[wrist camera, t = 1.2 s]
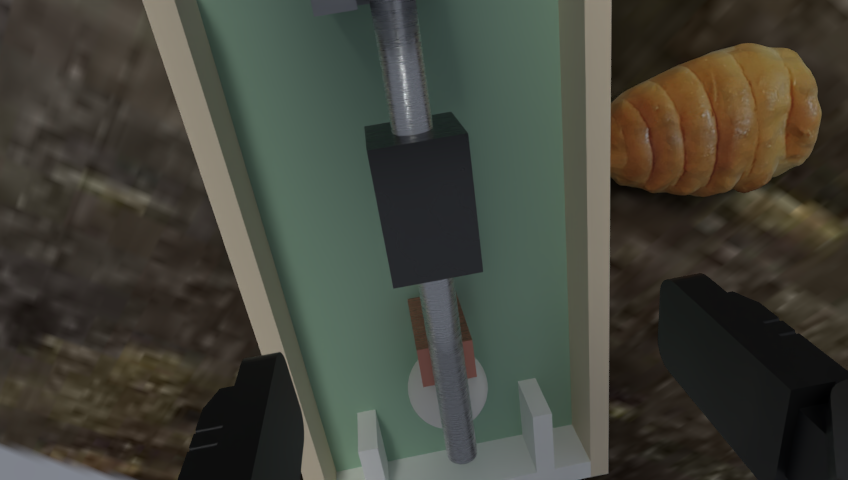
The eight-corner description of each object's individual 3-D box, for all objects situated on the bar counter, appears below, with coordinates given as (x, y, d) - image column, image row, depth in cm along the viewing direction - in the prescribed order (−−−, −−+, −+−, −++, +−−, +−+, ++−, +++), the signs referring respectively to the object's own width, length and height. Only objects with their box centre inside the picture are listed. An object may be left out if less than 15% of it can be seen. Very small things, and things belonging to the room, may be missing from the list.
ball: (398, 338, 28) (405, 390, 25) (474, 324, 29) (492, 373, 25) (410, 397, 30) (418, 454, 27) (481, 384, 30) (499, 438, 27)
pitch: (173, -13, 22) (78, -11, 14) (569, -75, 22) (682, -105, 15) (324, 473, 33) (317, 617, 26) (581, 421, 34) (646, 546, 27)
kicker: (312, -153, 19) (295, -214, 13) (404, -167, 19) (428, -232, 13) (415, 387, 29) (431, 488, 24) (474, 375, 30) (505, 473, 24)
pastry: (590, 205, 28) (623, 235, 25) (583, 70, 25) (620, 83, 22) (766, 168, 28) (823, 192, 25) (779, 30, 26) (846, 37, 22)
